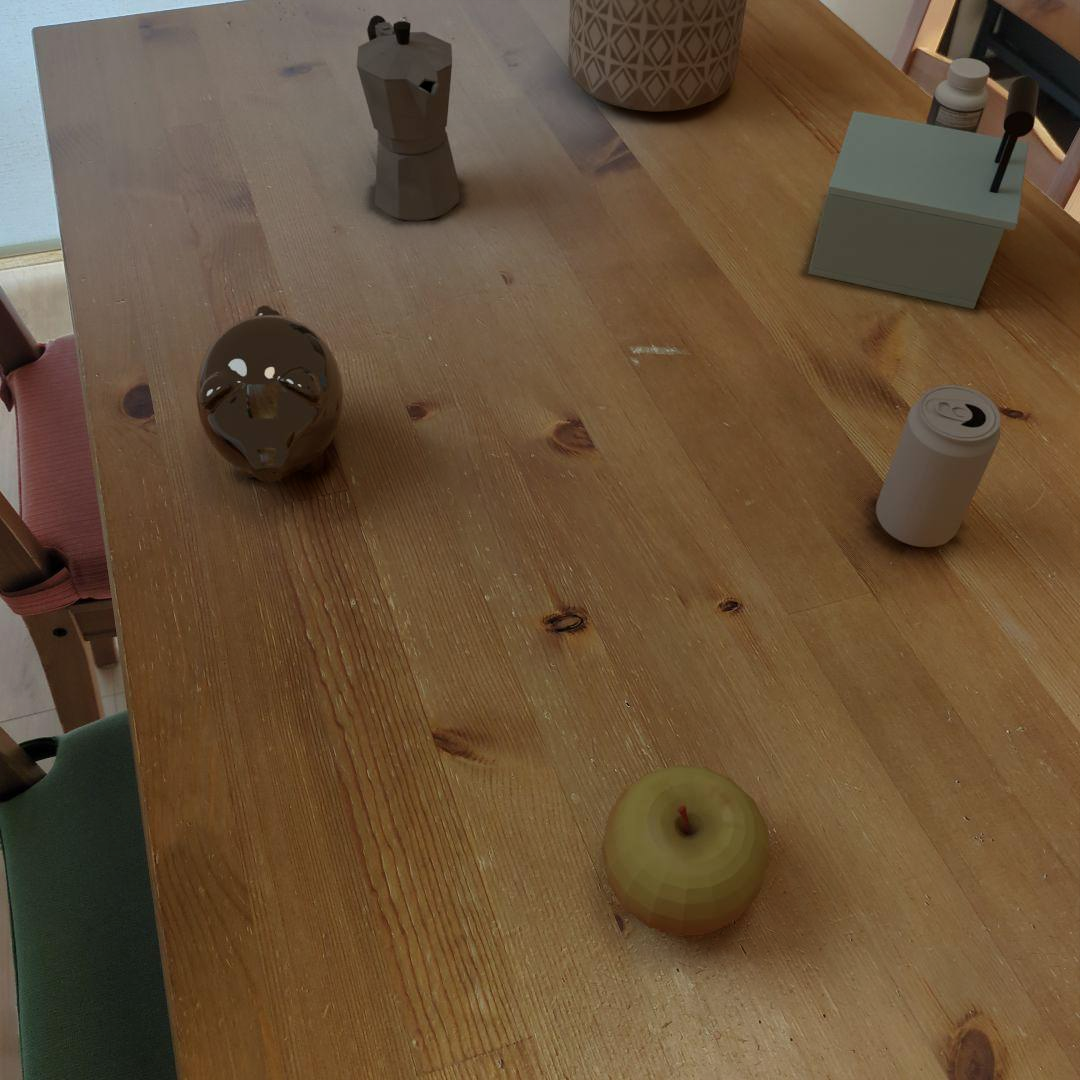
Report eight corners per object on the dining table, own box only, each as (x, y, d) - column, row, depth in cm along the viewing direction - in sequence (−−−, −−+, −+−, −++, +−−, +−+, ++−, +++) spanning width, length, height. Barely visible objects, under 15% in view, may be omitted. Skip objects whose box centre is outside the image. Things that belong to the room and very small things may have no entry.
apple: (621, 783, 73) (630, 721, 67) (769, 824, 71) (792, 764, 65) (581, 926, 67) (586, 872, 61) (742, 974, 65) (764, 924, 59)
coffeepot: (485, 218, 112) (479, 44, 98) (398, 242, 110) (379, 67, 96) (426, 143, 121) (413, -27, 107) (344, 164, 118) (320, -8, 104)
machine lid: (1025, 150, 105) (1059, 60, 98) (1014, 231, 97) (1050, 139, 90) (851, 118, 108) (873, 29, 102) (826, 193, 100) (848, 103, 93)
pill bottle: (924, 135, 123) (950, 49, 115) (973, 148, 121) (1002, 61, 114) (911, 160, 120) (937, 72, 112) (961, 173, 118) (991, 85, 111)
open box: (987, 228, 112) (1016, 149, 105) (973, 309, 104) (1004, 229, 97) (832, 197, 115) (851, 118, 108) (807, 274, 107) (826, 194, 100)
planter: (648, 24, 138) (660, -120, 126) (767, 84, 130) (793, -65, 117) (533, 77, 130) (534, -72, 117) (653, 144, 121) (667, -9, 108)
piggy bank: (208, 526, 86) (171, 420, 77) (220, 394, 96) (188, 286, 87) (353, 514, 87) (333, 408, 78) (351, 384, 97) (332, 276, 88)
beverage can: (951, 562, 85) (1002, 453, 75) (866, 539, 86) (907, 429, 77) (961, 503, 88) (1011, 392, 79) (880, 482, 90) (920, 371, 81)
